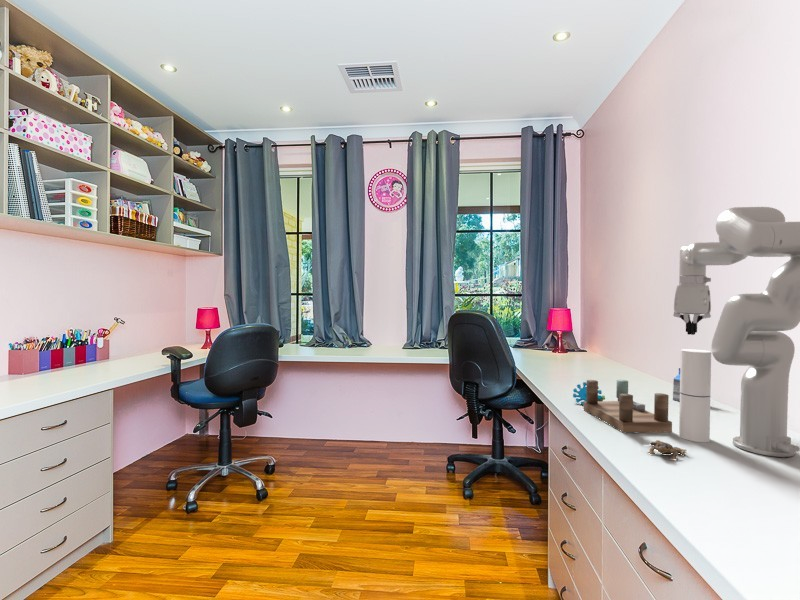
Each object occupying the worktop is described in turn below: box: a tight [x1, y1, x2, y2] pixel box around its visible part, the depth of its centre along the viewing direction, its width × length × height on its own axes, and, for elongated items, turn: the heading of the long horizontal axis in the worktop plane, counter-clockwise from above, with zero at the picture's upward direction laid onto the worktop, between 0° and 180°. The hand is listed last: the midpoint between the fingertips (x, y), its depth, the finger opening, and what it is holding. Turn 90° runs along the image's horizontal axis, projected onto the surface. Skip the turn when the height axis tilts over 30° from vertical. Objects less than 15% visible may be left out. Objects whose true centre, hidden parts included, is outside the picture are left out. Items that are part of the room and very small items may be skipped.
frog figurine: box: [647, 439, 687, 460], centre depth 109 cm, size 12×12×4 cm
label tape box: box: [672, 367, 680, 402], centre depth 160 cm, size 9×4×12 cm, turn 28°
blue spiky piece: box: [572, 381, 606, 406], centre depth 158 cm, size 11×6×10 cm
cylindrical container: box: [678, 348, 712, 443], centre depth 121 cm, size 7×7×25 cm
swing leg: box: [615, 379, 646, 411], centre depth 143 cm, size 13×4×8 cm, turn 4°
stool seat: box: [583, 379, 673, 433], centre depth 137 cm, size 24×15×11 cm, turn 3°
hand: (691, 334), depth 147 cm, fingers closed
